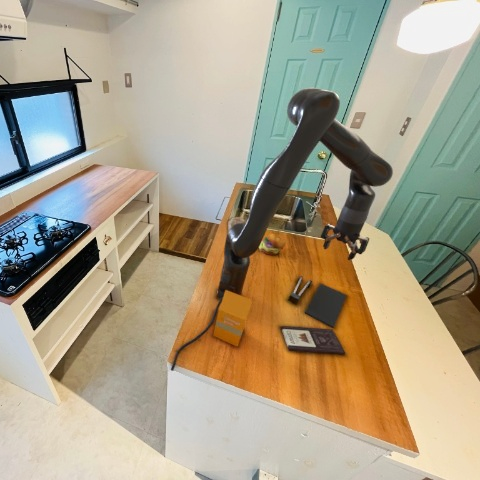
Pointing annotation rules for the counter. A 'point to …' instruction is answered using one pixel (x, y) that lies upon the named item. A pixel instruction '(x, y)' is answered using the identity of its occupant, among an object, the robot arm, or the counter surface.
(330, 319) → the mat
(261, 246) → the cheeseburger
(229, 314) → the orange juice
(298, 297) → the tongs
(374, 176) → the robot arm
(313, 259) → the counter surface
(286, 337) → the chocolate bar
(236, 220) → the fish fossil
